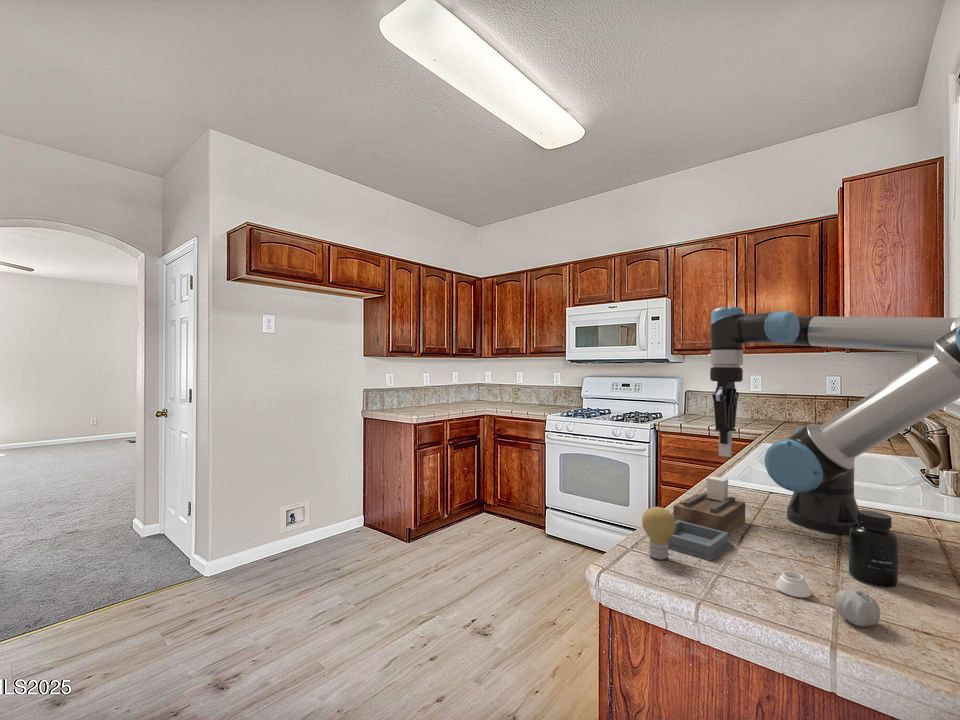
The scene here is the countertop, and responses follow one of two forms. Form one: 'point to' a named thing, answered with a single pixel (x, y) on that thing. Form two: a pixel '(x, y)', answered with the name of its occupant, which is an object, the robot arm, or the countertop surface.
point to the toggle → (717, 488)
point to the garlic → (857, 607)
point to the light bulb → (658, 530)
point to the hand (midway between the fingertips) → (725, 455)
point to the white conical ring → (793, 584)
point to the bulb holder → (699, 540)
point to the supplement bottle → (873, 549)
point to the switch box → (711, 512)
